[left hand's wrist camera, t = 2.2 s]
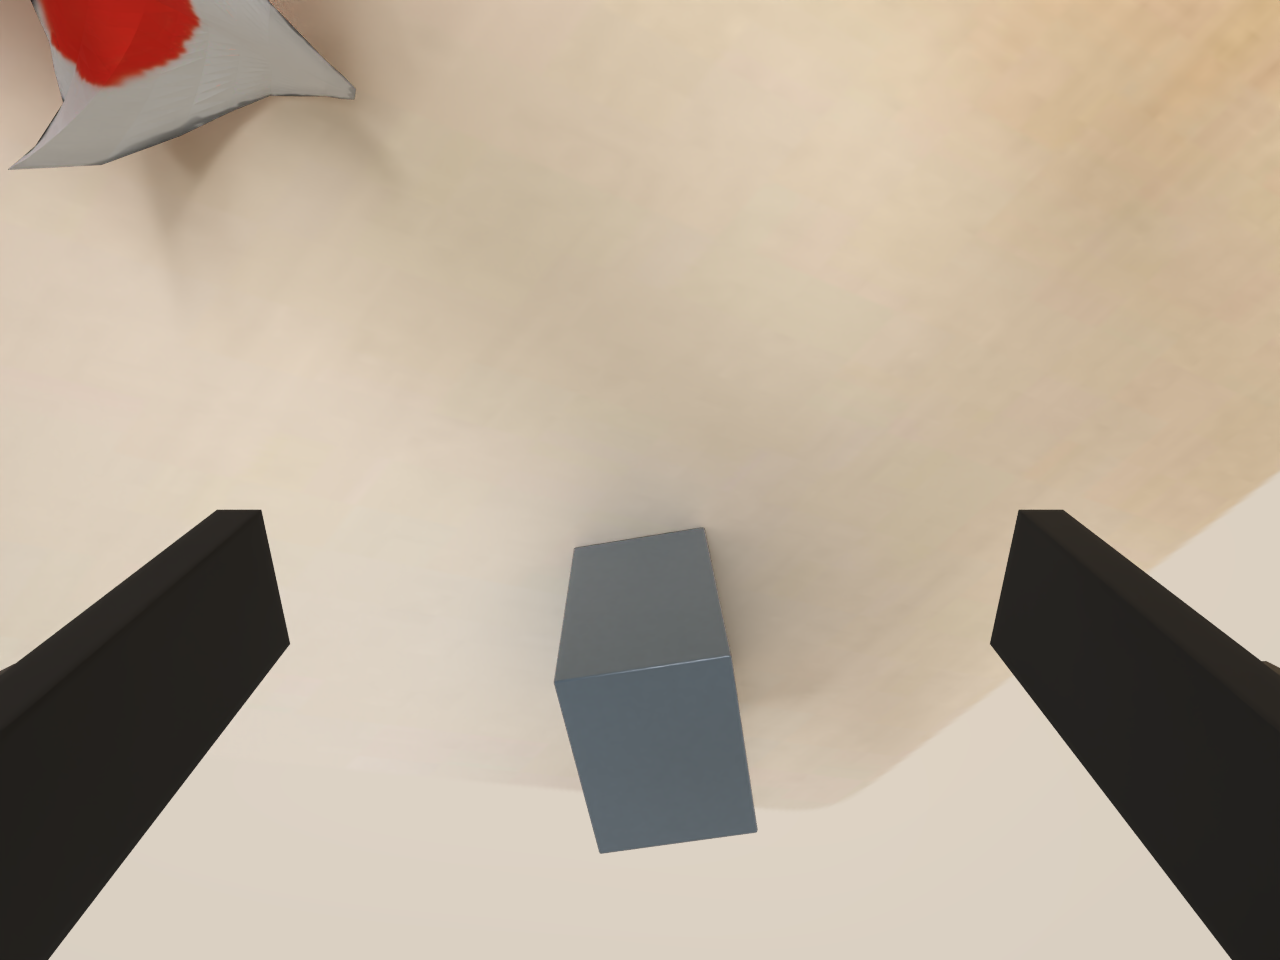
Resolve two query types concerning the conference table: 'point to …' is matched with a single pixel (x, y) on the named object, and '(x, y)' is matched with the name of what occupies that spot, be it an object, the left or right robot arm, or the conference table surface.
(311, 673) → the conference table surface
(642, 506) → the conference table surface
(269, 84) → the fish
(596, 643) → the brick
